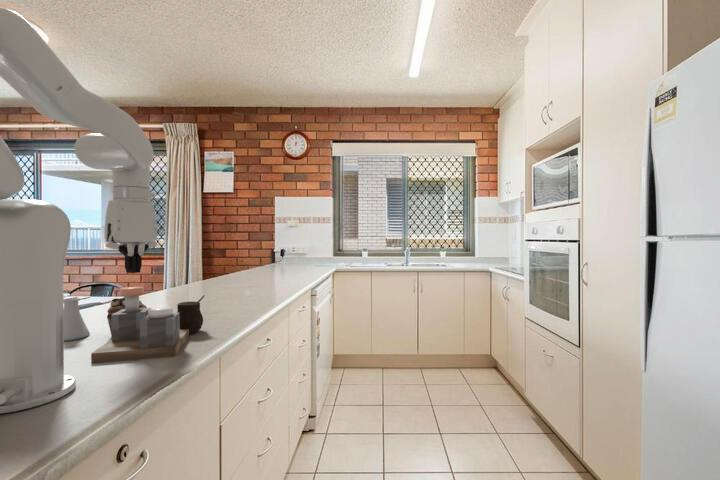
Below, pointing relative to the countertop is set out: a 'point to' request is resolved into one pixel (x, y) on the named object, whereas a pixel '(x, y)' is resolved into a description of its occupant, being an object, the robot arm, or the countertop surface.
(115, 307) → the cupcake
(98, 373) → the countertop surface
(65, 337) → the flask
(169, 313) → the white round part
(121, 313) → the board
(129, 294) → the orange rounded piece
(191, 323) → the mate gourd
